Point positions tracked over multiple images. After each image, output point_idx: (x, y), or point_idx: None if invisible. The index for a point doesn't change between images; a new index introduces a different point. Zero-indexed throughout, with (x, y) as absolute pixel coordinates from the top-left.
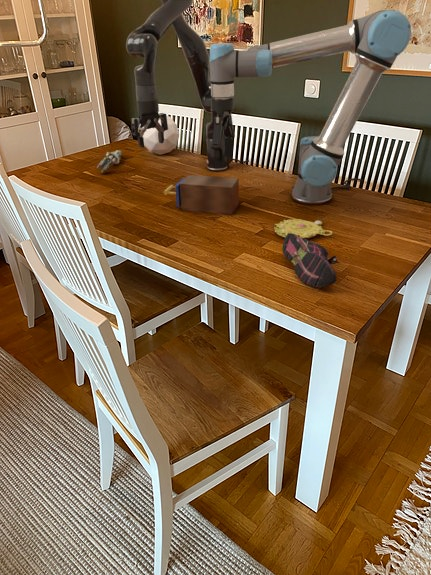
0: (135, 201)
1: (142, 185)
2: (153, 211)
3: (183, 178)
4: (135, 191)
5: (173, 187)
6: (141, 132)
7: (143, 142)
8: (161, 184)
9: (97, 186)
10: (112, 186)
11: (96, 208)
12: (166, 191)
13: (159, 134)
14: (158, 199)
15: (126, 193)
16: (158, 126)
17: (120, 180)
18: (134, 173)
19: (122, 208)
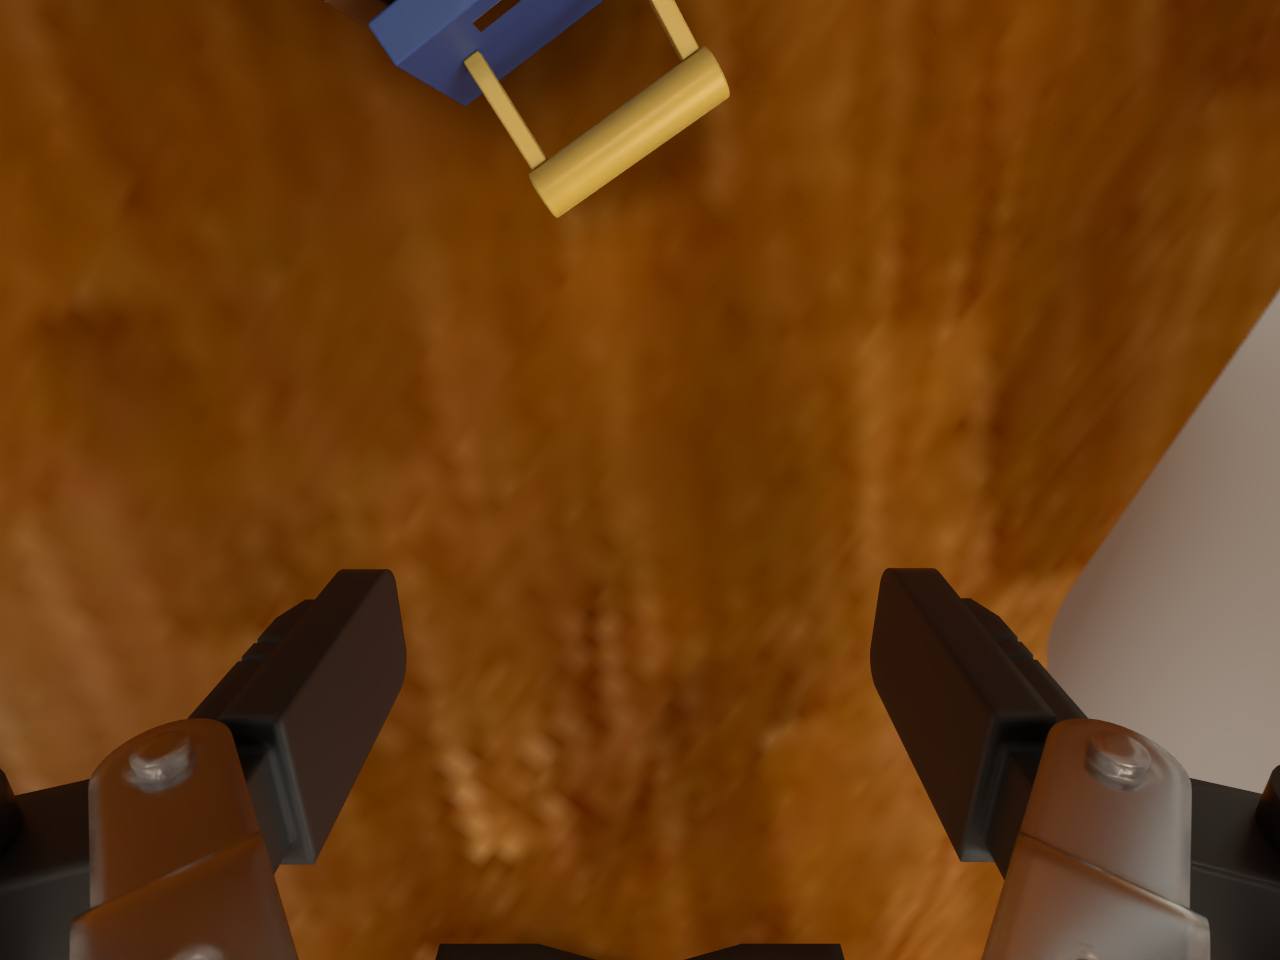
0: (806, 429)
1: (559, 672)
2: (851, 104)
3: (416, 27)
4: (673, 606)
5: (546, 159)
6: (1178, 853)
7: (942, 624)
8: (428, 596)
9: (806, 845)
10: (734, 787)
11: (1094, 515)
12: (711, 55)
13: (320, 763)
14: (641, 328)
15: (748, 617)
16: (254, 935)
17: (624, 842)
18: (470, 888)
19: (974, 373)
